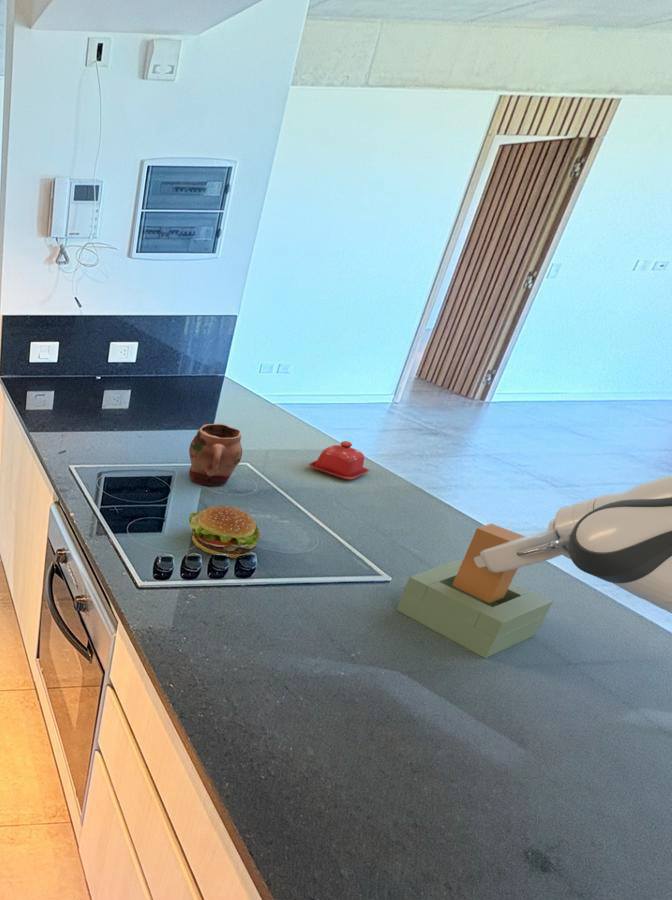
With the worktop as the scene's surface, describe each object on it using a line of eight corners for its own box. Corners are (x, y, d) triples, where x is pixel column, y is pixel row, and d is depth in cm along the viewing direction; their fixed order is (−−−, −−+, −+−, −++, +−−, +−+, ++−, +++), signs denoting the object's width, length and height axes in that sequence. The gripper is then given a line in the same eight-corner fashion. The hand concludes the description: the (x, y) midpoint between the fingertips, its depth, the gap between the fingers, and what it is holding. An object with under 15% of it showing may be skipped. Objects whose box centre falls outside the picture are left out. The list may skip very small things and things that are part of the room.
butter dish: (371, 474, 161) (381, 443, 157) (349, 484, 155) (359, 453, 152) (326, 460, 170) (335, 431, 166) (304, 469, 164) (312, 439, 160)
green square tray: (535, 635, 102) (553, 600, 98) (484, 658, 96) (502, 622, 93) (445, 591, 113) (459, 558, 110) (396, 610, 108) (409, 576, 105)
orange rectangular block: (466, 580, 105) (491, 523, 100) (503, 597, 100) (532, 538, 95) (451, 585, 103) (476, 528, 98) (489, 603, 99) (517, 543, 94)
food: (194, 522, 137) (200, 490, 133) (261, 540, 130) (270, 507, 126) (174, 548, 127) (181, 514, 123) (246, 569, 120) (256, 533, 116)
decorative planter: (240, 501, 147) (253, 446, 140) (186, 495, 149) (197, 442, 143) (229, 469, 164) (240, 419, 158) (181, 465, 167) (190, 415, 160)
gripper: (564, 568, 83) (458, 591, 95) (640, 539, 90) (533, 564, 102) (539, 524, 84) (438, 553, 97) (615, 499, 92) (513, 529, 104)
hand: (487, 558), depth 100 cm, fingers closed on orange rectangular block, 4 cm apart
